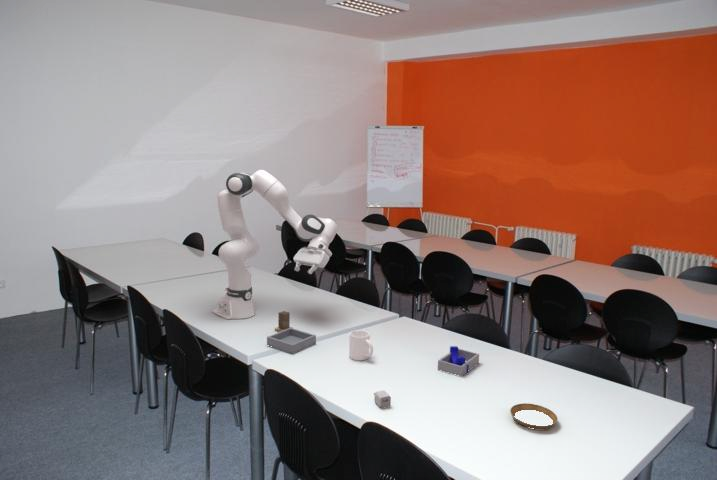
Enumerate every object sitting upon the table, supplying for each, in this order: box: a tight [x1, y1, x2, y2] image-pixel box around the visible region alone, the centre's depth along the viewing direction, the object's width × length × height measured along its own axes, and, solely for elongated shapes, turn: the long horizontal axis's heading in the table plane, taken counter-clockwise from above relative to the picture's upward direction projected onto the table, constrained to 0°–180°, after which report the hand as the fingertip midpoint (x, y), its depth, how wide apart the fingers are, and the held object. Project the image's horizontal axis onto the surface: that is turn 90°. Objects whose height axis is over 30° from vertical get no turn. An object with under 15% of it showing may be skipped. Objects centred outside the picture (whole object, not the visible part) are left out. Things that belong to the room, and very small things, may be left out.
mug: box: [348, 329, 374, 362], centre depth 221 cm, size 12×8×10 cm
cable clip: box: [449, 345, 469, 373], centre depth 216 cm, size 12×4×6 cm, turn 5°
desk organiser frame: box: [437, 348, 480, 377], centre depth 216 cm, size 10×17×4 cm, turn 144°
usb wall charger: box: [373, 390, 392, 409], centre depth 185 cm, size 4×7×4 cm, turn 23°
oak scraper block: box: [274, 310, 293, 333], centre depth 251 cm, size 6×6×9 cm
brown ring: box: [509, 403, 558, 430], centre depth 176 cm, size 15×15×3 cm
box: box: [266, 327, 317, 355], centre depth 234 cm, size 15×15×4 cm
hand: (302, 272), depth 255 cm, fingers open, 8 cm apart
